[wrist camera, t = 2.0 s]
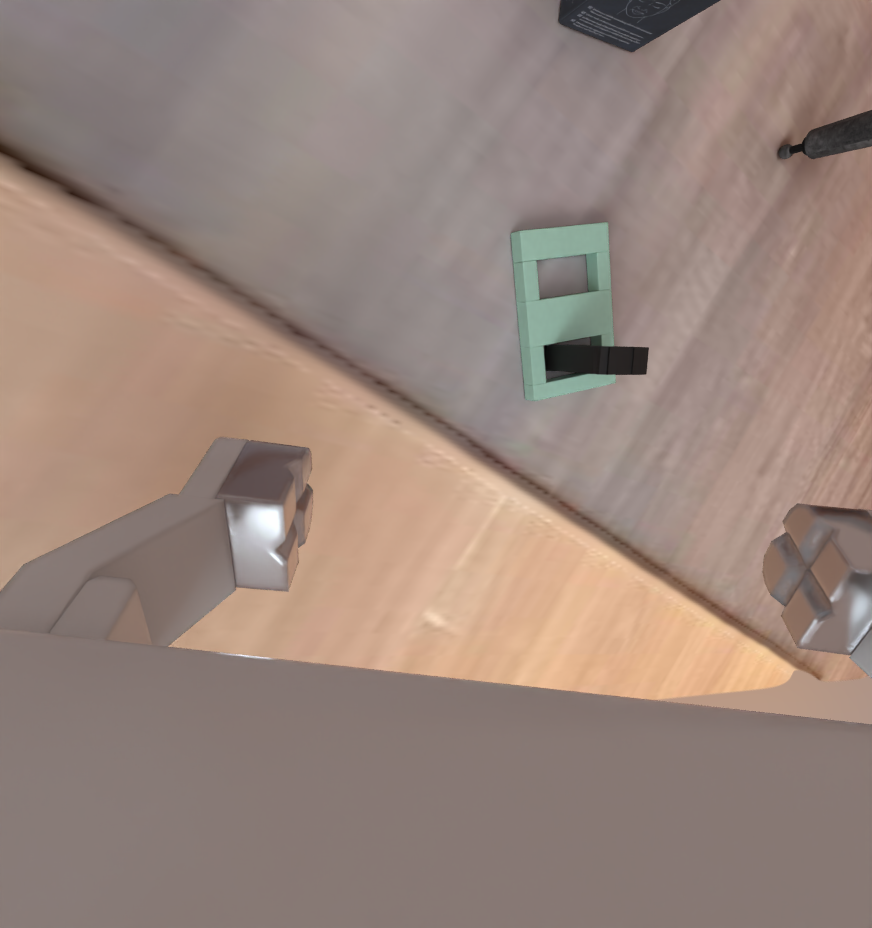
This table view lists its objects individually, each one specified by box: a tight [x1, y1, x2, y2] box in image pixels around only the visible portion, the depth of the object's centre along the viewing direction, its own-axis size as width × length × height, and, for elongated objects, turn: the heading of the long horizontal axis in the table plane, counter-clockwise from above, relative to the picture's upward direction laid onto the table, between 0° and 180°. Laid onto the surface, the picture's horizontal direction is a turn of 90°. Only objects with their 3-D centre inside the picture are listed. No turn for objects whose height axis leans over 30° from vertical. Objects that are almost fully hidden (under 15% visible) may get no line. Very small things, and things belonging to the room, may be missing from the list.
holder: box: [511, 222, 616, 401], centre depth 54 cm, size 14×9×2 cm, turn 9°
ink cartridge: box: [544, 345, 649, 375], centre depth 52 cm, size 5×2×8 cm, turn 89°
